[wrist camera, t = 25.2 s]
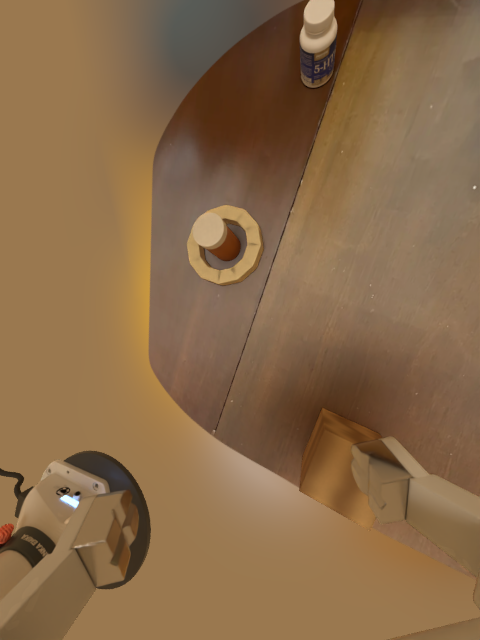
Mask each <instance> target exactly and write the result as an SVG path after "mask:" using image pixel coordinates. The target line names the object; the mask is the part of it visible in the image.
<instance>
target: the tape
mask: <svg viewBox="0 0 480 640" xmlns="http://www.w3.org/2000/svg"><path fill="white" fill-rule="evenodd" d="M206 213H215V214H217V215H219V216H220V217H221V219H222V220H223V221H224V222H225V224H229V223H230V224H233V225H237V226H241V227H242V229H243V230H244V231H245V232H246V237H247V244H248V245H247V248H246V250H245V253H244V256H243V258H242V259H241V260H240V261H239V262H238V263H237V264H236V265H235V266H234V267H233V268H229V269H224V270H220V271H219V270H216V269H213V268H211V266H210V265H209V264H208V263H207V261H206V259H205V253H204V248H203V247H202V246H200V245H199V244H198V243H197V242H196V241H195V240H194V237H193V228H192V231H191V234H190V237H189V240H188V243H187V248H188V255H189V262H190V264H191V266H192V267H193V268H194V269H195V271H196V272H197V273H198V275H199V276H200V277H201V278H203V279H205V280H208V281H210V282H213V283H216V284H219V285H222V286H225V285H230V284H234V283H239V282H242V281H243V280H244V279H245V278H246V277H248V276H249V275H250V274H251V273H252V272H253V271H254V270H255V269H256V268H257V266H258V263H259V261H260V258H261V255H262V252H263V250H264V247H263V241H262V235H261V229H260V227H259V226H258V224H257V223H256V222H255V220H254V219H253V218H252V217H251V216H250V215H249V214H248V213H247V211H246V210H244V209H241V208H237V207H233V206H229V205H224V206H221V207H218V208H214V209H211V210H208V211H207V212H206ZM193 226H194V225H193Z"/></svg>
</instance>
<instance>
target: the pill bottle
mask: <svg viewBox="0 0 480 640" xmlns="http://www.w3.org/2000/svg"><path fill="white" fill-rule="evenodd" d="M336 37H337V22H336V19H335V17H334V0H310V1H309V3H308V4H307V6H306V8H305V11H304V26H303V28H302V30H301V34H300V59H301V78H302V81H303V83H304V84H305V85H306V86H307V87H310V88H316V87H320V86H322V85H323V84H325V83H326V82H327V81H328V80H329V79H330V77H331V76H332V73H333V69H334V60H335V48H336Z"/></svg>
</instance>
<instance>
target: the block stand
mask: <svg viewBox="0 0 480 640" xmlns="http://www.w3.org/2000/svg"><path fill="white" fill-rule="evenodd" d="M381 438H382V437H381V435H380V434H379V433H377V432H374V431H372V430H370V429H368V428H366V427H363V426H361V425H359V424H357V423H355V422H352V421H350V420H348V419H346V418H344V417H342V416H339V415H337V414H335V413H333V412H331V411H328V410H326V409H324V408H322V409H321V412H320V414H319V417H318V419H317V422H316V424H315V426H314V429H313V431H312V434H311V436H310V439H309V441H308V444H307V446H306V449H305V451H304V453H303V456H302V466H301V478H300V490H299V491H300V492H302V493H304V494H306V495H307V496H309V497H311V498H313V499H315V500H316V501H318V502H320V503H321V504H324V505H325V506H327V507H329V508H330V509H332V510H334V511H336V512H337V513H339V514H341V515H343V516H344V517H346V518H348V519H350V520H352V521H353V522H355V523H357V524H359V525H361V526H362V527H364V528H366V529H367V530H369V531H370V530H371V528H372V526H373V524H374V521H375V519H376V516H375V515H374V513H373V511H372V510H371V508H370V506H369V505H368V496H367V495H366V494H364V493H363V492H361V491H360V489H359V487H358V486H357V484H356V482H355V479H354V477H353V474H352V470H351V461H352V460H353V458H354V457H353V455H352V454H351V446H352V444H356V443H361V442H365V441H370V440H375V439H381Z"/></svg>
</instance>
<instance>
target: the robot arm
mask: <svg viewBox="0 0 480 640" xmlns="http://www.w3.org/2000/svg"><path fill="white" fill-rule="evenodd" d="M351 454H352V455H353V457H354V458H353V460H352V461H351V470H352V474H353V477H354V479H355V482H356V484H357V486H358V487H359V489H360V491H361V492H363V493H364V494H366V495H367V496H368V505H369V506H370V508H371V510H372V511H373V513H374V515H375V516H376V518H377V520H378V521H379V523H380V525H381V524H387V523H392V522H398V521H403V520H406V522H407V523H408V524H410V525H411V526H412V527H413V528H415V529H416V530H417V531H418V532H420V533H421V534H422V535H424V536H425V537H426V538H427V539H429V540H430V541H431V542H432V543H434V544H435V545H436V546H437V547H439V548H440V549H441V550H443V551H444V552H445V553H446V554H448V555H449V556H450V557H451V558H453V559H454V560H455V561H456V562H458V563H459V564H460V565H462V566H463V567H464V568H465V569H467V570H468V571H469V572H470V573H472V574H473V575H474V576H475V577H477V580H476V584H475V589H474V593H473V601H474V603H475V604H476V605H477V607H478V608H479V609H480V497H479V496H477V495H475V494H473V493H471V492H469V491H467V490H465V489H463V488H461V487H459V486H457V485H455V484H453V483H451V482H449V481H447V480H445V479H443V478H441V477H439V476H437V475H435V474H429V473H428V472H427V471H426V470H425V469H424V468H423V467H422V466H421V465H420V464H419V463H418V462H417V461H416V460H415V459H414V457H413V456H412V455H411V454H410V453H409V452H408V451H407V450H406V449H405V448H404V447H403V446H402V445H401V444H400V443H399V442H398V441H397V439H396V438H394V437H392V436H391V437H386V438H381V439H375V440H370V441H365V442H361V443H356V444H352V446H351ZM0 475H2V476H6V477H14V478H17V479H18V482H17V484H16V485H15V488H14V493H15V496H16V497H17V499H18V503H17V507H16V512H15V517H17V518H18V522H17V526H16V530H15V533H14V534H13V536H12V537H11V533H12V531H13V529H14V526H13V525H12V524H8V525H7V524H5V526H2V527H1V528H0V640H62V639H63V637H64V636H65V635H66V633H67V632H68V630H69V629H70V627H71V626H72V624H73V623H74V621H75V620H76V618H77V617H78V615H79V614H80V612H81V611H82V609H83V608H84V606H85V605H86V603H87V602H88V601H89V599H90V598H91V596H92V595H93V593H94V592H95V590H96V588H95V587H99V586H103V585H107V584H111V583H115V582H119V581H123V580H124V578H125V575H126V571H127V567H128V564H129V560H130V556H131V553H130V550H129V546H130V545H131V543H132V542H133V541H134V539H135V538H136V534H137V530H138V522H139V515H138V509H137V507H136V505H135V504H133V503H131V500H132V494H131V492H130V490H122V491H116V492H110V489H109V485H108V482H107V481H106V480H104V479H102V478H100V477H98V476H96V475H93V474H91V473H89V472H87V471H84V470H82V469H80V468H78V467H75V466H73V465H71V464H69V463H66V462H64V461H62V460H60V459H57V460H55V461H53V462H52V463H51V464H50V465H49V466H48V467H47V468H46V470H45V472H44V474H43V476H42V478H41V481H40V482H39V483H38V484H37V485H36V486H34V487H31V488H29V489H27V490H26V491H24V492H22V493H21V491H20V486H21V484H22V483H23V481H24V477H23V476H22V475H21V474H20V473H16V472H7V471H4V470H2V469H0ZM388 640H480V617H479V618H475V619H471V620H467V621H462V622H458V623H455V624H450V625H446V626H442V627H438V628H433V629H429V630H425V631H421V632H417V633H413V634H408V635H404V636H401V637H396V638H392V639H388Z"/></svg>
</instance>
